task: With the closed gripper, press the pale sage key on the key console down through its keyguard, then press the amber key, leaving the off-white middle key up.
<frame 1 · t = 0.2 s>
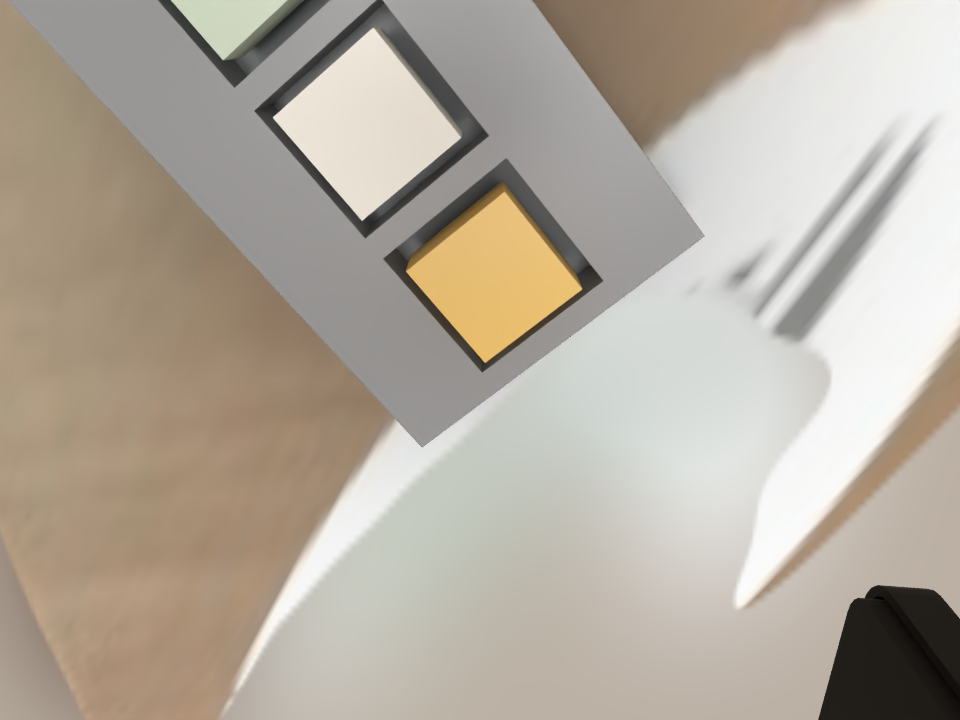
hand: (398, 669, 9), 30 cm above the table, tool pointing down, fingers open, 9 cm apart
key console: (385, 111, 37), on the table
amber key: (493, 271, 34), point 5 cm above the table, slide at 0.0 cm
middle key: (371, 124, 32), point 5 cm above the table, slide at 0.0 cm
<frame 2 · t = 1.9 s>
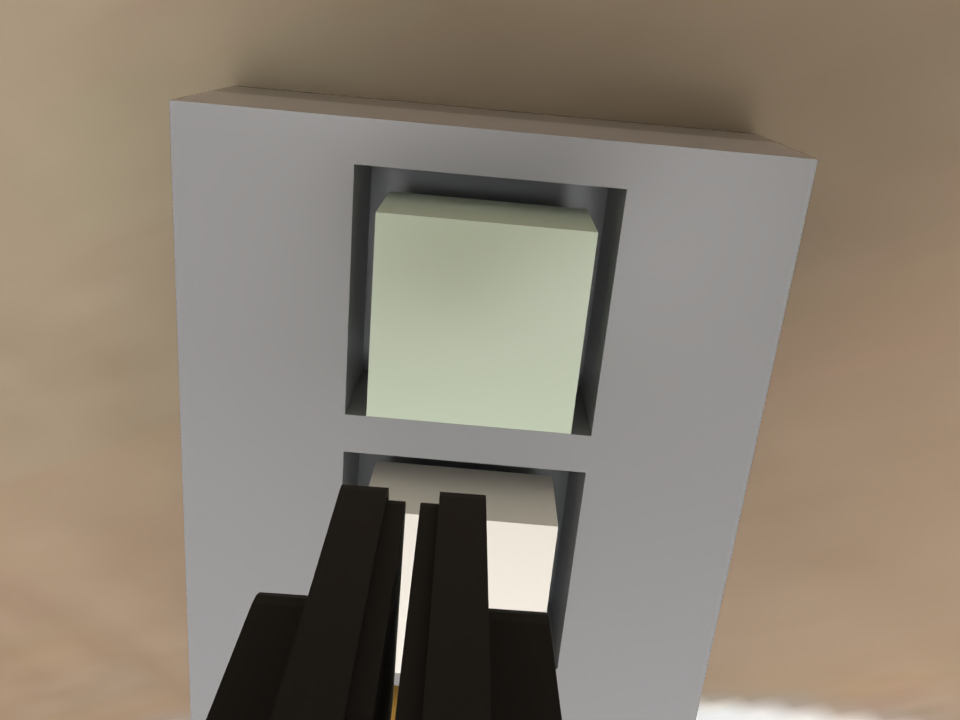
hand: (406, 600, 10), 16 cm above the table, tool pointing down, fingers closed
key console: (462, 474, 28), on the table
sage key: (478, 310, 20), point 5 cm above the table, slide at 0.0 cm
middle key: (455, 571, 23), point 5 cm above the table, slide at 0.0 cm
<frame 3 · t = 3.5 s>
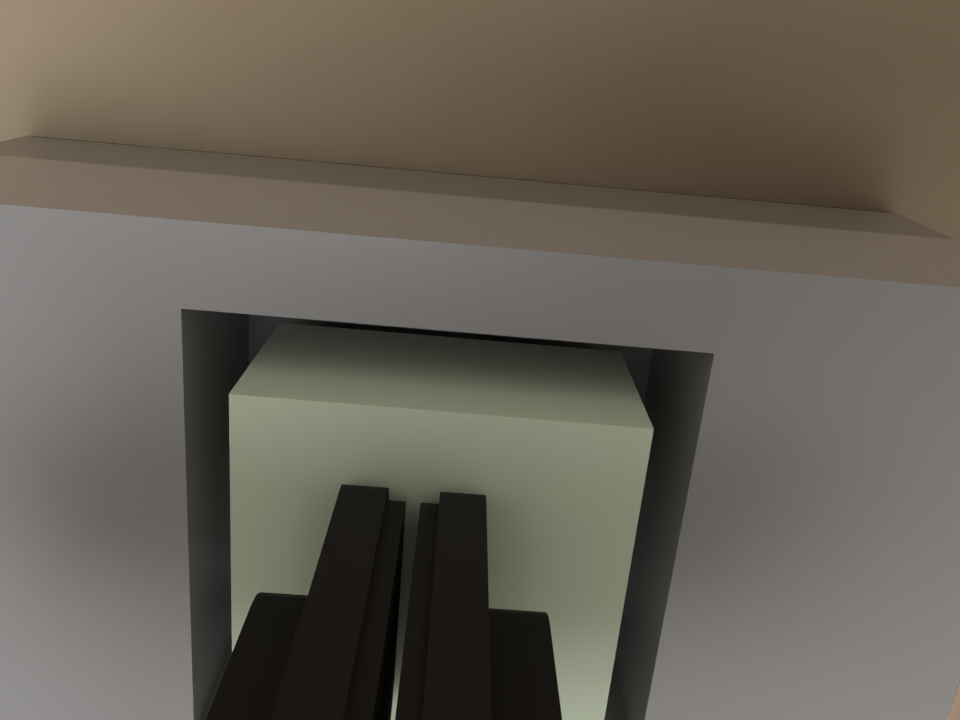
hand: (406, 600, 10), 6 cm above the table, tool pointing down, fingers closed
key console: (421, 717, 18), on the table
sage key: (434, 534, 12), point 4 cm above the table, slide at 0.9 cm, touching gripper
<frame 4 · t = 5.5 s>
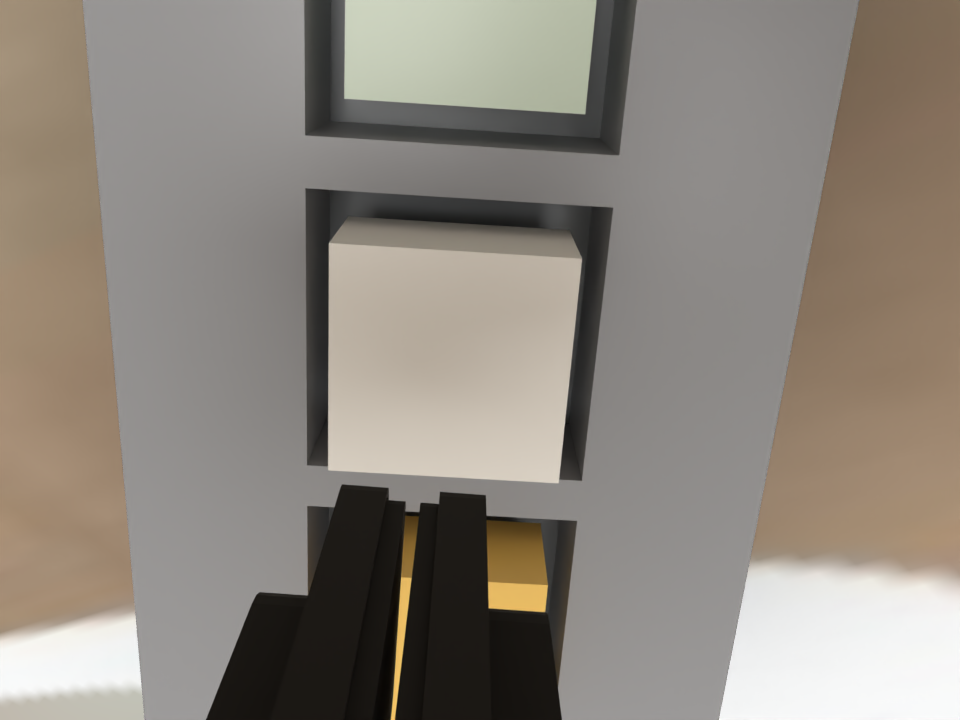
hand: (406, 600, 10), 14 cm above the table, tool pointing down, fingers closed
key console: (458, 280, 23), on the table
amber key: (436, 632, 20), point 5 cm above the table, slide at 0.0 cm
middle key: (451, 347, 18), point 5 cm above the table, slide at 0.0 cm
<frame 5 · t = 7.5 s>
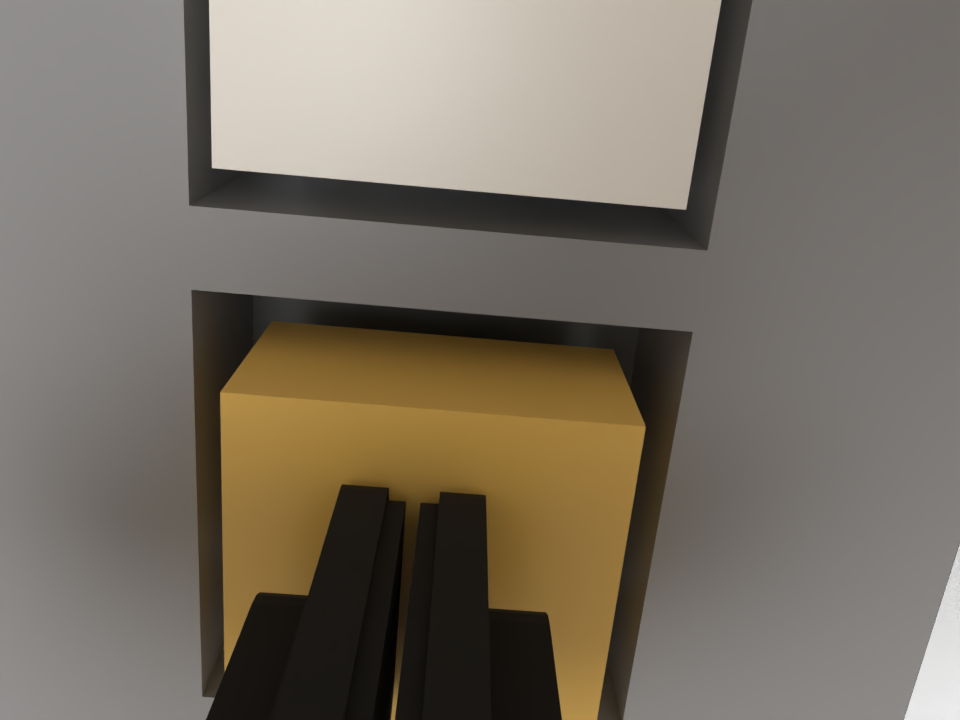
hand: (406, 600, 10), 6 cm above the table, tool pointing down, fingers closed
amber key: (427, 533, 11), point 5 cm above the table, slide at 0.2 cm, touching gripper
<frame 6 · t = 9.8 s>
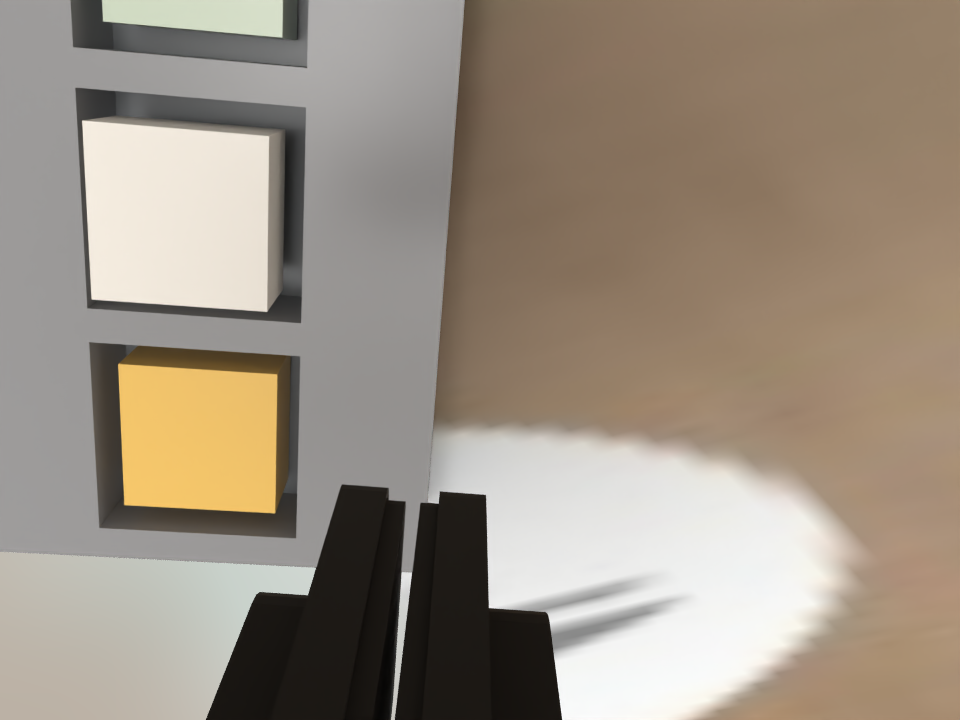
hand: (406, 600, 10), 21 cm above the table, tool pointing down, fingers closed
key console: (233, 187, 29), on the table
amber key: (209, 425, 28), point 3 cm above the table, slide at 1.8 cm
middle key: (191, 212, 24), point 5 cm above the table, slide at 0.0 cm
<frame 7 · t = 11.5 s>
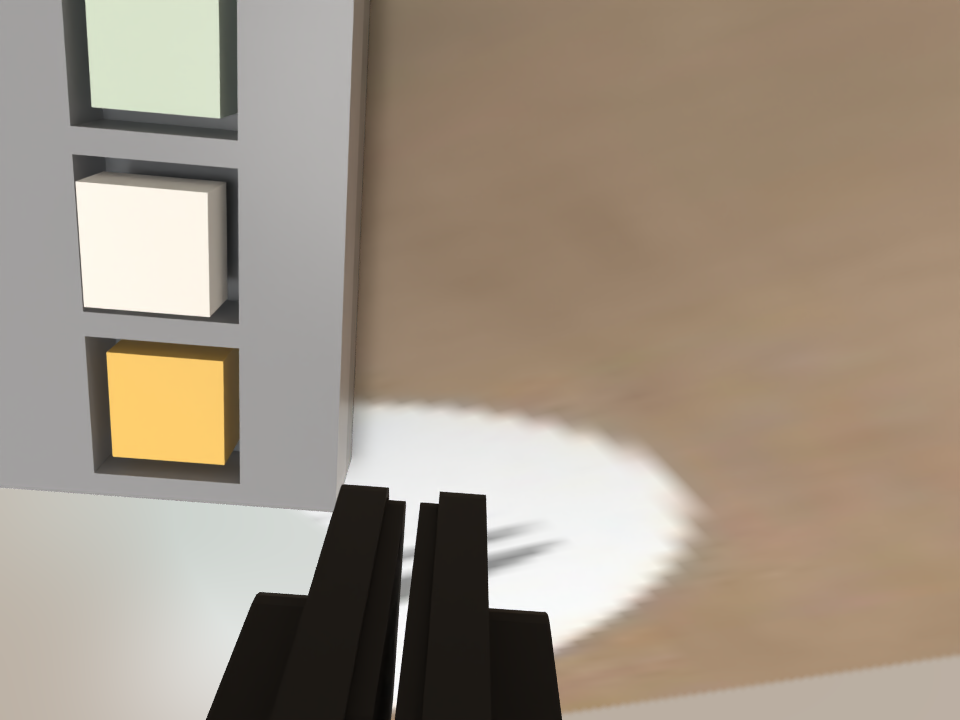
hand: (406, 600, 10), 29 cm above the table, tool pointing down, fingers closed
key console: (197, 216, 38), on the table
amber key: (176, 398, 37), point 3 cm above the table, slide at 1.8 cm
sage key: (165, 45, 32), point 3 cm above the table, slide at 1.8 cm
middle key: (156, 243, 33), point 5 cm above the table, slide at 0.0 cm
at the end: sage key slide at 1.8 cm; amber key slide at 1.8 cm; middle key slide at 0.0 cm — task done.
